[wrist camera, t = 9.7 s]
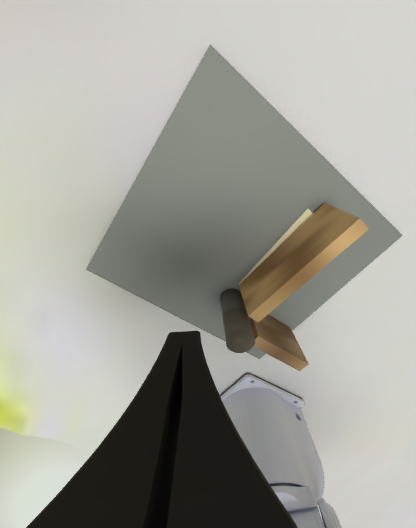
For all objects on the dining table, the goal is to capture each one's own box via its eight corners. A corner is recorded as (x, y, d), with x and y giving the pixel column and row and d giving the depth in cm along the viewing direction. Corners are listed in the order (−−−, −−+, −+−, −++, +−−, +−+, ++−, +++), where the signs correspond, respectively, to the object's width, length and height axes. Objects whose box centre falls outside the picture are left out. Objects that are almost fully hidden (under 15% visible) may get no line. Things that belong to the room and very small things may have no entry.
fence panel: (247, 290, 20) (258, 322, 16) (238, 284, 19) (248, 315, 16) (332, 211, 17) (369, 228, 13) (324, 202, 16) (359, 218, 13)
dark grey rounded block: (293, 324, 22) (319, 371, 17) (279, 336, 23) (299, 385, 18) (229, 284, 19) (238, 327, 15) (215, 299, 20) (220, 345, 16)
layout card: (399, 234, 18) (403, 235, 18) (258, 356, 24) (259, 359, 24) (210, 46, 13) (210, 43, 12) (87, 267, 19) (85, 269, 18)
